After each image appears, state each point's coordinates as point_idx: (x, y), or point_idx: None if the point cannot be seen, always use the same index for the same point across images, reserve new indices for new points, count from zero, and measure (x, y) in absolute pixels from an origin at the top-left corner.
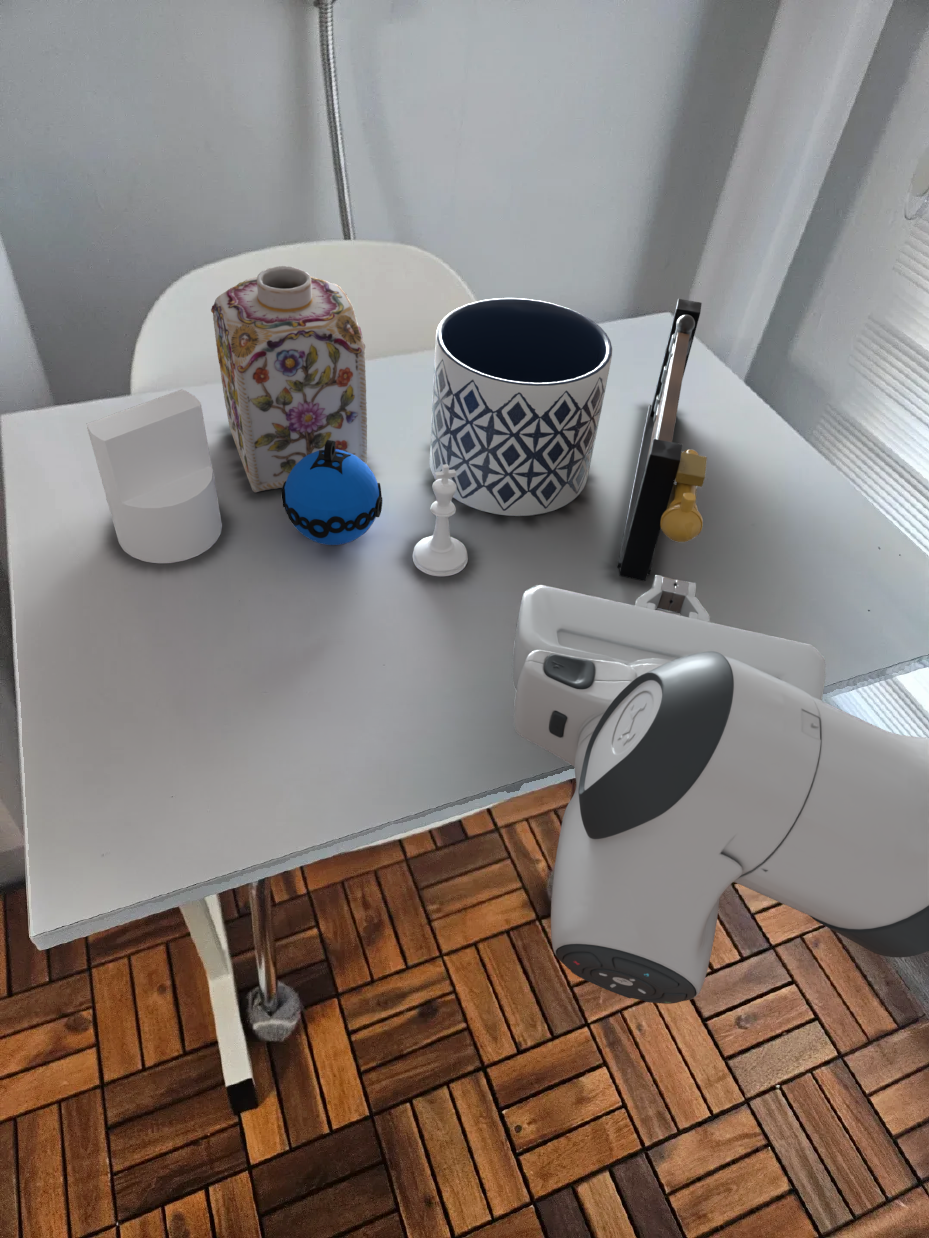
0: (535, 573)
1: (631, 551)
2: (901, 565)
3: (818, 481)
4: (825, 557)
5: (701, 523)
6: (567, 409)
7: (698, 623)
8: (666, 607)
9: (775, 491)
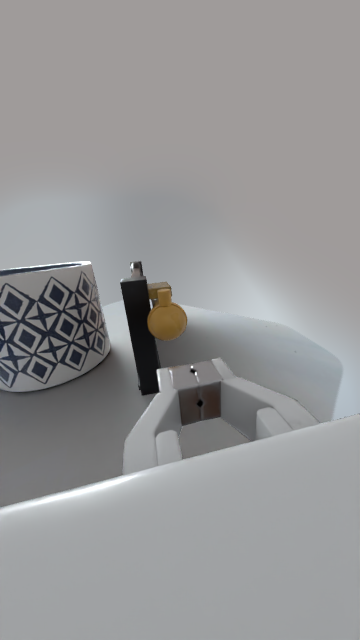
0: (69, 425)
1: (142, 372)
2: (282, 328)
3: (220, 315)
4: (250, 337)
5: (184, 313)
6: (60, 292)
7: (331, 444)
8: (196, 417)
9: (206, 323)
